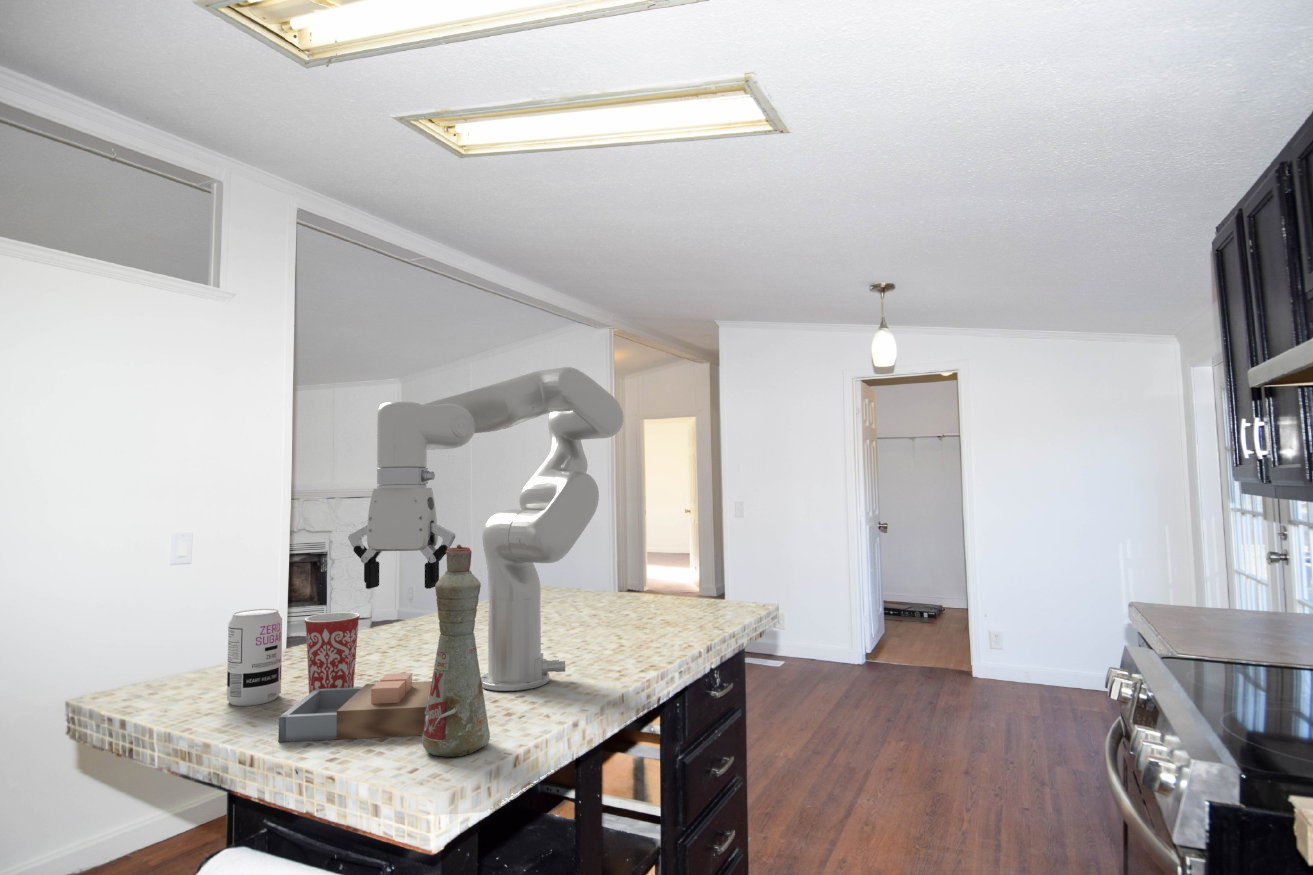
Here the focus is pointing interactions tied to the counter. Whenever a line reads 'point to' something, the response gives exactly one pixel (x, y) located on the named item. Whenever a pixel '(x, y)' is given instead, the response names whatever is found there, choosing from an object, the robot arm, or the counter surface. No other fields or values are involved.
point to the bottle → (456, 666)
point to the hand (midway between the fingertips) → (401, 587)
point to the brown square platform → (383, 714)
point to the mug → (331, 650)
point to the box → (314, 715)
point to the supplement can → (254, 657)
